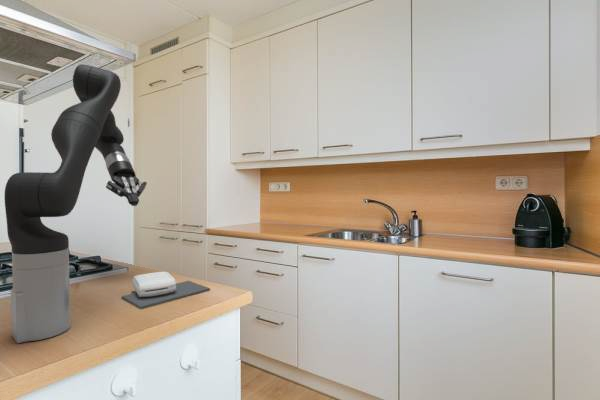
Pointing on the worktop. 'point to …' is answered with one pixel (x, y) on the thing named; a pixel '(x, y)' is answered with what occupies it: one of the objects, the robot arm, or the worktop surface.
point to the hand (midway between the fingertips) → (135, 204)
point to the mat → (166, 295)
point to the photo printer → (154, 284)
